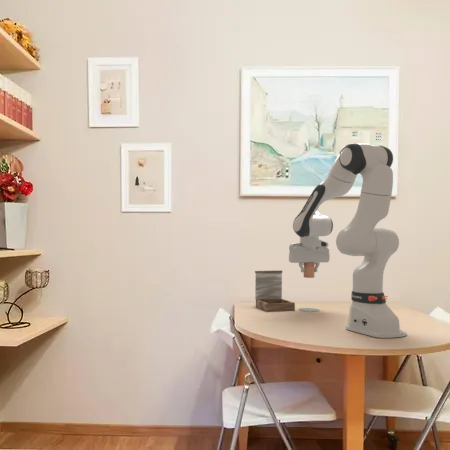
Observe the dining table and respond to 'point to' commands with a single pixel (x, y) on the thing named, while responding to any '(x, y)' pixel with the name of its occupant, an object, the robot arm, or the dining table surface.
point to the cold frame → (271, 292)
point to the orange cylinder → (309, 270)
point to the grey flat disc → (309, 310)
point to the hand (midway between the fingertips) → (309, 272)
